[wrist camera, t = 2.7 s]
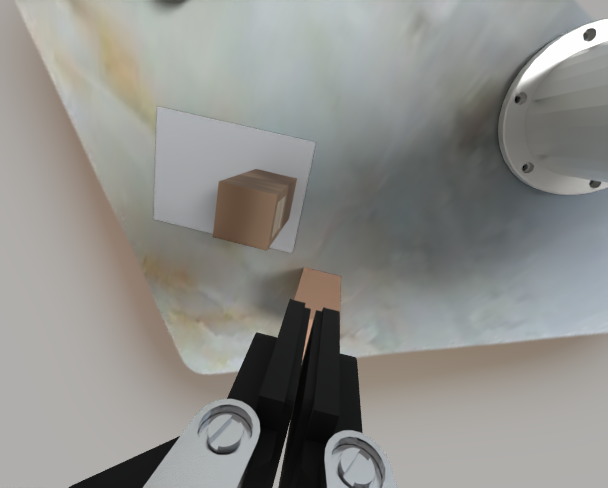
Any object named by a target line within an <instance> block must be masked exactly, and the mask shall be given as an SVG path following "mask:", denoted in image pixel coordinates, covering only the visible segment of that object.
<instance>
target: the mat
mask: <svg viewBox="0 0 608 488" xmlns="http://www.w3.org/2000/svg"><path fill="white" fill-rule="evenodd" d="M315 146H316V142H313V141H309V140H304V139H300V138H296V137H291V136H287V135H282V134H278V133H274V132H269V131H265V130H260V129H256V128H251V127H247V126H243V125H238V124H234V123H229V122H225V121H221V120H216V119H212V118H207V117H203V116H199V115H194V114H190V113H185V112H181V111H177V110H172V109H168V108H163V107H158V106H157V126H156V156H155V186H154V216H153V219H155V220H159V221H163V222H167V223H171V224H175V225H179V226H183V227H187V228H191V229H195V230H199V231H204V232H208V233H212V234H213V230H214V220H215V211H216V202H217V193H218V184H219V181H221V180H224V179H227V178H230V177H233V176H236V175H239V174H242V173H245V172H248V171H251V170H254V169H259V170H263V171H267V172H272V173H276V174H280V175H285V176H289V177H293V178H297V182H296V187H295V192H294V197H293V202H292V207H291V212H290V217H289V220H288V221H287V223H286V224H285V225H284V227H283V228H282V230H281V231H280V233H279V234H278V235H277V237H276V238H275V240H274V241H273V243H272V244H271V246H270V247H269V248H273V249H277V250H281V251H285V252H289V253H292V252H293V249H294V245H295V240H296V235H297V230H298V226H299V221H300V216H301V212H302V207H303V202H304V198H305V193H306V188H307V184H308V179H309V174H310V170H311V165H312V160H313V156H314V151H315Z"/></svg>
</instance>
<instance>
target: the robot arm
mask: <svg viewBox="0 0 608 488" xmlns="http://www.w3.org/2000/svg"><path fill="white" fill-rule="evenodd" d="M583 37H584V38H583ZM515 97H517V98H518V101H517V102H516V103H515ZM498 138H499V146H500V150H501V153H502V156H503V158H504V161H505V162H506V164H507V165H508V167H509V169H510V170H511V172H512V173H513V174H515V175H516V176H517V177H518V178H519V179H520V180H521V181H522V182H524V183H526V184H527V185H529V186H531V187H533V188H536V189H539V190H542V191H545V192H549V193H554V194H558V195H580V194H587V193H593V192H596V191H599V190H603V189H606V188H608V18H605V19H600V20H597V21H594V22H591V23H588V24H584V25H582V26H580V27H578V28H575V29H573V30H571V31H569V32H567V33H565V34H563V35H562V36H560V37H558V38H557V39H555V40H553V41H552V42H550V43H549V44H547V45H546V46H545V47H544V48H543V49H541V50H540V51H539V52H538V53H537V54H535V55H534V56H533V57H532V58H531V59H530V61H529V62H528V63H527V64H526V65H525V66H524V67H523V68H522V69H521V71H520V72H519V74H518V75H517V77H516V78H515V80H514V81H513V83H512V84H511V86H510V88H509V90H508V92H507V95H506V97H505V99H504V101H503V105H502V108H501V112H500V116H499V125H498ZM523 165H525V167H524V169H522V167H523ZM305 304H306V303H304V302H300V301H296V300H292V299H290V301H289V304H288V307H287V310H286V313H285V316H284V319H283V322H282V326H281V329H280V332H279V335H278V338H277V337H273V336H269V335H265V334H261V333H256V334H255V336H254V339H253V341H252V343H251V345H250V348H249V350H248V352H247V354H246V357H245V359H244V361H243V364H242V366H241V368H240V370H239V373H238V375H237V377H236V380H235V382H234V384H233V386H232V389H231V391H230V393H229V396H228V398H227V399H221V400H217V401H213V402H211V403H209V404H208V405H206V406H204V407H203V408H202V409H201V410H200V411H199V412H198V413H197V414H196V415H195V417H194V418H193V419H192V421H191V422H190V424H189V425H188V426H187V428H186V429H185V431H184V432H183V433H182V435H181V436H179V437H177V438H175V439H173V440H170V441H169V442H166V443H164V444H162V445H159V446H158V447H155V448H153V449H151V450H149V451H146V452H144V453H142V454H140V455H138V456H135V457H133V458H131V459H129V460H127V461H125V462H123V463H120V464H118V465H116V466H114V467H112V468H109V469H107V470H105V471H103V472H101V473H98V474H96V475H94V476H92V477H90V478H88V479H85V480H83V481H81V482H79V483H77V484H74V485H72V486H71V487H69V488H272V487H273V483H274V479H275V475H276V472H277V468H278V464H279V460H280V457H281V453H282V449H283V445H284V442H285V438H286V434H287V430H288V426H289V423H290V426H289V432H288V438H287V443H286V449H285V454H284V460H283V465H282V471H281V477H280V482H279V488H397V484H396V481H395V477H394V474H393V470H392V467H391V465H390V462H389V460H388V458H387V455H386V454H385V453H384V451H383V450H382V448H381V447H380V446H379V445H378V444H377V443H376V442H375V441H373V439H371V438H370V437H368V436H366V435H364V434H363V433H362V421H361V409H360V395H359V381H358V369H357V359H356V358H355V357H352V356H348V355H344V354H340V311H337V310H332V309H328V308H324V307H323V309H322V311H318V310H316V312H315V316H314V319H313V323H312V327H311V331H310V335H309V338H308V342H307V346H306V350H305V354H304V358H303V353H304V347H305V341H306V336H307V330H308V324H309V318H310V313H311V309H310V308H306V307H305ZM302 358H303V361H302ZM301 364H302V365H301ZM290 419H291V421H290Z"/></svg>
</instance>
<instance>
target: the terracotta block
mask: <svg viewBox="0 0 608 488" xmlns="http://www.w3.org/2000/svg"><path fill="white" fill-rule="evenodd" d="M294 300H296V301H300V302H304V303H306V304H305V307H306V308H310V309H311V313H310V318H309V324H308V330H307V336H306V341H305V347H304V353H303V358H304V354H305V350H306V346H307V342H308V338H309V335H310V331H311V327H312V323H313V319H314V316H315V312H316V310H318V311H322V309H323V307H324V308H328V309H332V310H337V311H340V302H341V276H337V275H333V274H329V273H325V272H321V271H317V270H313V269H309V268H305V267H304V269H303V273H302V276H301V279H300V282H299V285H298V289H297V292H296V295H295V298H294ZM303 358H302V360H303Z"/></svg>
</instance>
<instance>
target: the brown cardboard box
mask: <svg viewBox="0 0 608 488" xmlns="http://www.w3.org/2000/svg"><path fill="white" fill-rule="evenodd" d="M296 182H297V178H293V177H289V176H285V175H280V174H276V173H272V172H267V171H263V170H259V169H254V170H251V171H248V172H245V173H242V174H239V175H236V176H233V177H230V178H227V179H224V180H221V181H219V184H218V193H217V202H216V211H215V220H214V230H213V237H215V238H219V239H223V240H227V241H231V242H235V243H239V244H243V245H247V246H251V247H255V248H259V249H263V250H268V248H269V247H270V246H271V244H272V243H273V241H274V240H275V238H276V237H277V235H278V234H279V233H280V231H281V230H282V228H283V227H284V225H285V224H286V223H287V221H288V220H289V217H290V212H291V207H292V202H293V197H294V192H295V187H296Z"/></svg>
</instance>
